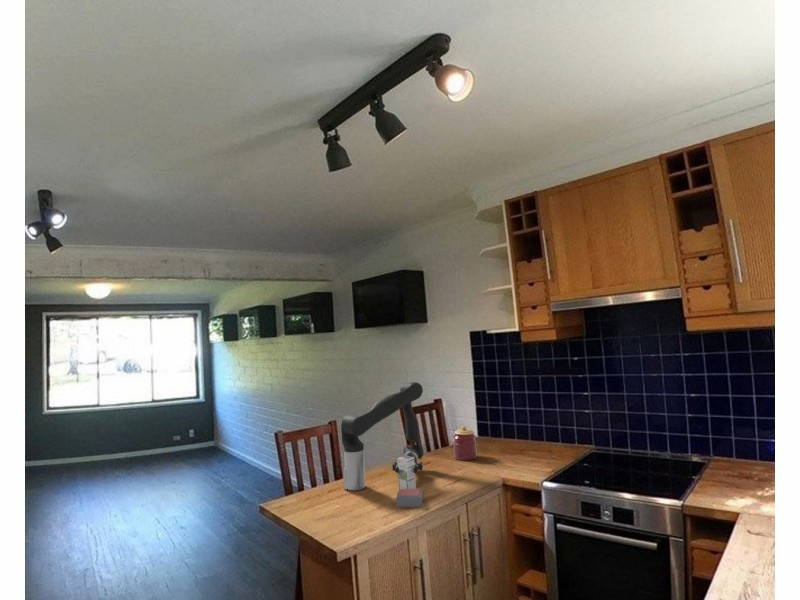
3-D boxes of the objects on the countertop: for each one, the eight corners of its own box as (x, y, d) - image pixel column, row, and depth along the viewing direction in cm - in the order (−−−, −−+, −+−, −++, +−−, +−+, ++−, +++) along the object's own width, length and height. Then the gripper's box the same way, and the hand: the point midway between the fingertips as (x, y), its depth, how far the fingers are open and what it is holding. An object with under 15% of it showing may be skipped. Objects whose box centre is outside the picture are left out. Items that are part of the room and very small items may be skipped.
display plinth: (396, 507, 187) (396, 496, 187) (399, 498, 197) (399, 488, 197) (421, 507, 186) (420, 496, 186) (422, 498, 196) (422, 488, 196)
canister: (470, 462, 248) (468, 429, 249) (449, 459, 255) (448, 427, 257) (481, 456, 258) (479, 424, 259) (461, 453, 266) (459, 422, 267)
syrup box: (416, 489, 208) (414, 456, 209) (407, 492, 204) (406, 459, 205) (406, 486, 212) (405, 454, 213) (398, 490, 207) (397, 457, 208)
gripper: (395, 453, 224) (390, 462, 208) (424, 452, 222) (421, 462, 206) (395, 468, 223) (390, 479, 207) (424, 468, 221) (422, 479, 205)
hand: (406, 470), depth 206 cm, fingers closed on syrup box, 7 cm apart
